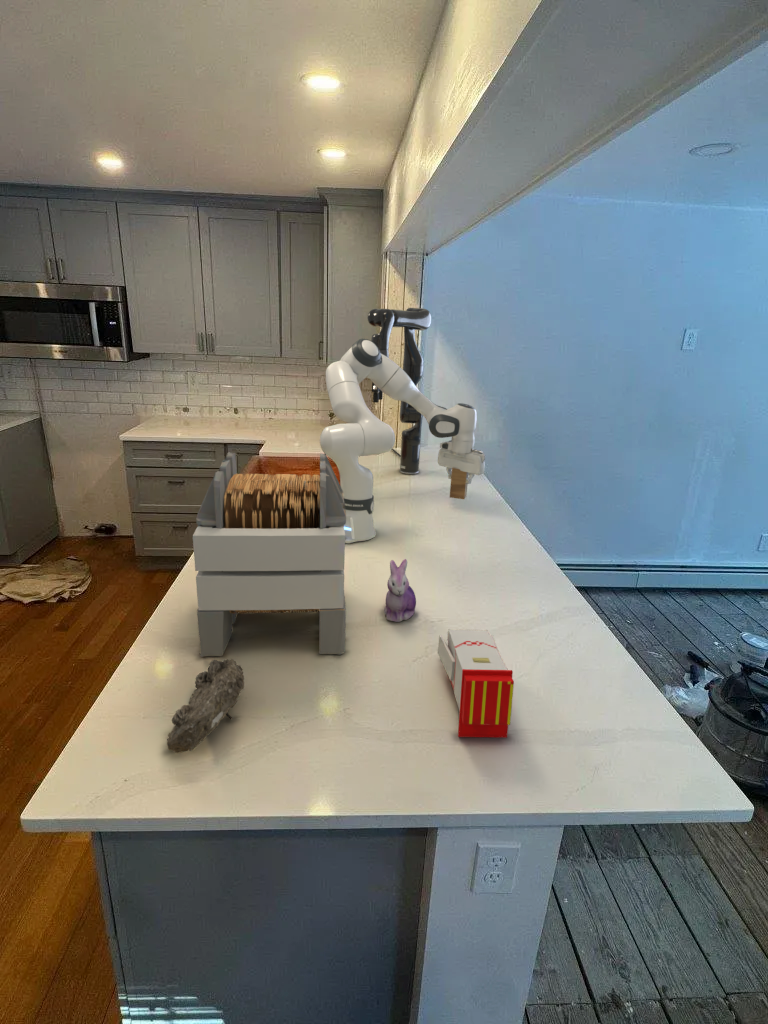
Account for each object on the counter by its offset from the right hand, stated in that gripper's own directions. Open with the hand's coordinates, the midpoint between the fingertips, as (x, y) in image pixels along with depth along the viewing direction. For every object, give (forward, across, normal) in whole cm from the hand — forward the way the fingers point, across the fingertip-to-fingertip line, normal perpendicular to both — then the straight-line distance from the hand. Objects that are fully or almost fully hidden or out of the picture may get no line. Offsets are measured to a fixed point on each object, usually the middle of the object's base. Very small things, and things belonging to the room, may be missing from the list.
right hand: (377, 400), depth 235 cm
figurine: (+38, -104, -28) cm, 114 cm away
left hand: (+26, -17, -37) cm, 48 cm away
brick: (+33, -17, -37) cm, 52 cm away
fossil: (+38, -151, 0) cm, 156 cm away
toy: (+38, -132, -47) cm, 145 cm away
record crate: (+38, -114, +2) cm, 120 cm away
